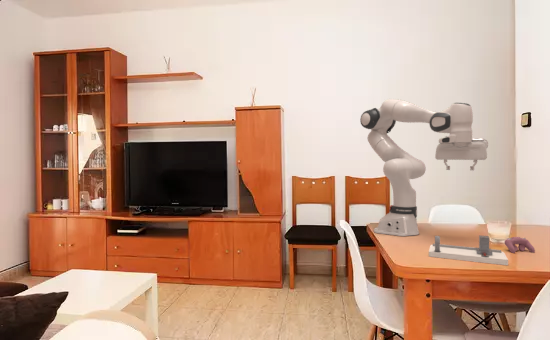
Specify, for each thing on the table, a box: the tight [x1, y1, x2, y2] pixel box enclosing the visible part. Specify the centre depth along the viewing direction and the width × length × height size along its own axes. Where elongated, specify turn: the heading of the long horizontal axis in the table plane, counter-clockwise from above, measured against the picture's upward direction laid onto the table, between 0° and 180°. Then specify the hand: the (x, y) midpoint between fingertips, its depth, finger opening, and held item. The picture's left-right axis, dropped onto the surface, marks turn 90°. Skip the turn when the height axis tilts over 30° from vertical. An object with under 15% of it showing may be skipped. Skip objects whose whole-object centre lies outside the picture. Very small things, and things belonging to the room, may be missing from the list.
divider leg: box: [475, 235, 492, 256], centre depth 129 cm, size 5×7×6 cm
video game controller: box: [504, 236, 536, 254], centre depth 141 cm, size 10×5×7 cm, turn 94°
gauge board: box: [428, 235, 509, 266], centre depth 133 cm, size 26×12×8 cm, turn 62°
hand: (459, 170), depth 151 cm, fingers open, 8 cm apart
